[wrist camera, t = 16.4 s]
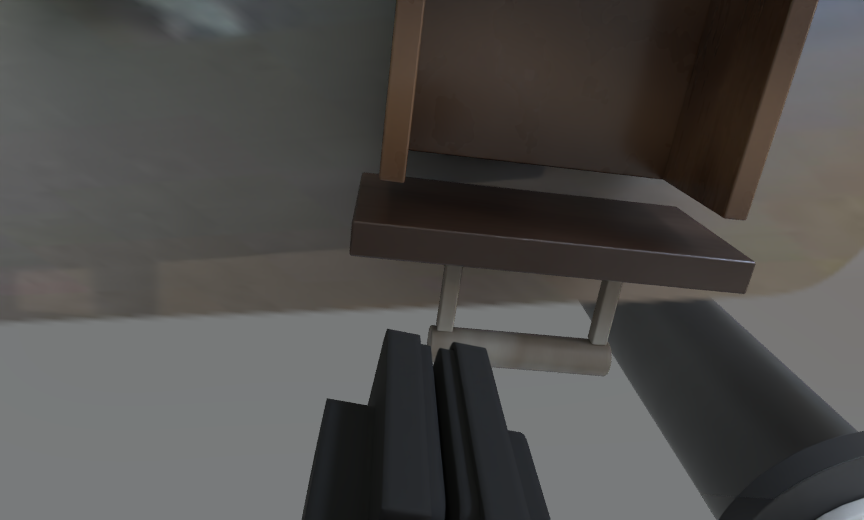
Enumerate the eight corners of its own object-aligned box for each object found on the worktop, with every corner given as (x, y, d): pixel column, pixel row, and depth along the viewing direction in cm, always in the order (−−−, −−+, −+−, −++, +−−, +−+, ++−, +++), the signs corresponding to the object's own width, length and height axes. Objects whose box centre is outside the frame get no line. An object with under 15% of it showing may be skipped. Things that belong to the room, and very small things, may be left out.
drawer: (641, 332, 28) (704, 414, 23) (350, 306, 27) (338, 387, 21) (781, -159, 21) (926, -224, 16) (396, -227, 20) (396, -323, 14)
